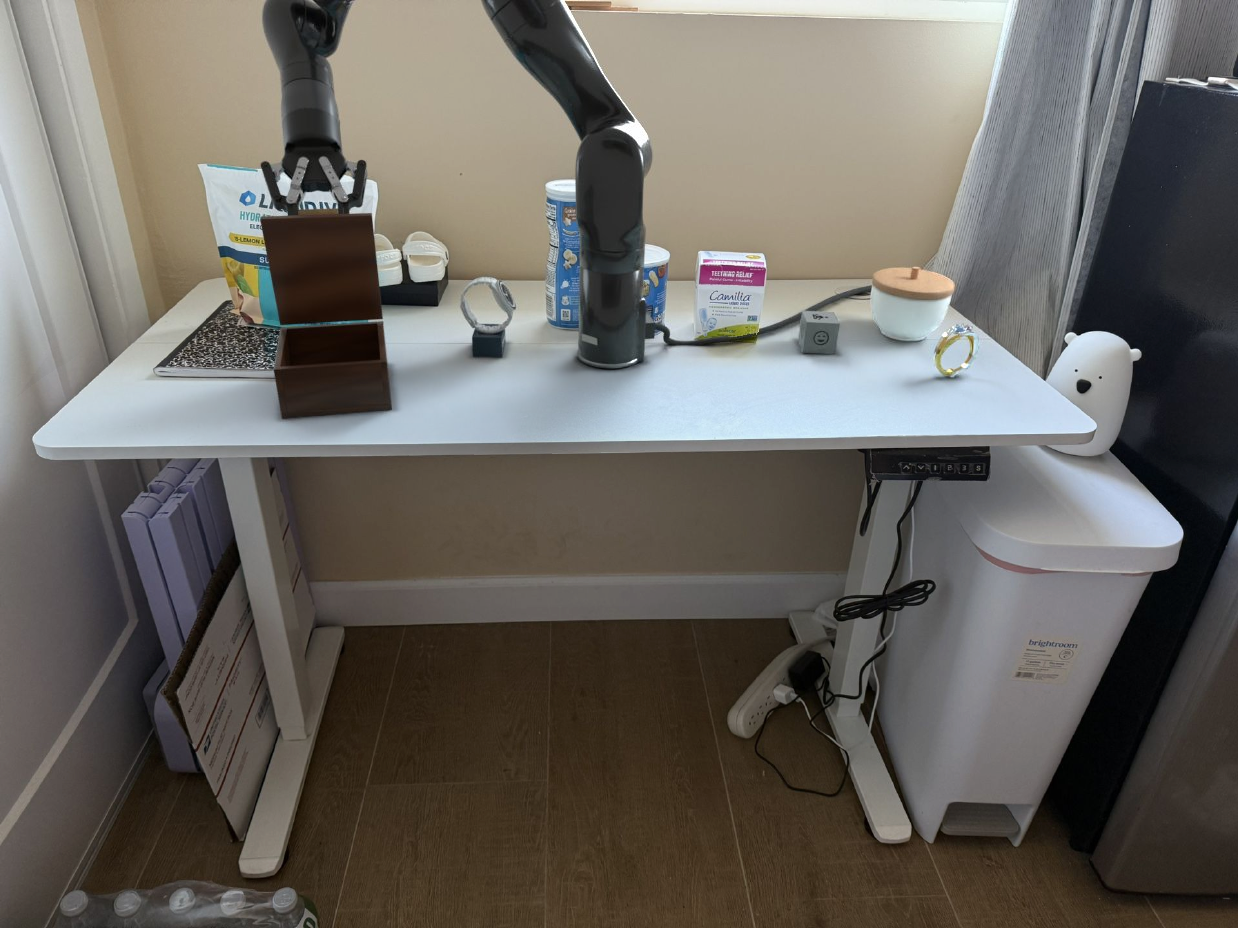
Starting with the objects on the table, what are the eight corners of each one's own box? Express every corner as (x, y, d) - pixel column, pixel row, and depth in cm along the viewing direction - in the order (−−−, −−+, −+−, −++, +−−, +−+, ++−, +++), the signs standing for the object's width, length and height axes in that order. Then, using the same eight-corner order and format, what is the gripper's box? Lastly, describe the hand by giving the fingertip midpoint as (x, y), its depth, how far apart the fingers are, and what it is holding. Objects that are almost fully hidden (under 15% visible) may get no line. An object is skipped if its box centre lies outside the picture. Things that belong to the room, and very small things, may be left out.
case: (392, 409, 117) (386, 361, 113) (281, 418, 113) (273, 369, 110) (387, 365, 129) (383, 320, 126) (288, 372, 126) (280, 327, 122)
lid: (372, 215, 115) (370, 197, 119) (259, 219, 112) (262, 200, 116) (382, 319, 125) (380, 299, 129) (280, 325, 122) (281, 304, 126)
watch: (515, 357, 133) (513, 286, 127) (461, 356, 133) (456, 284, 127) (518, 343, 138) (516, 273, 132) (466, 342, 137) (462, 272, 132)
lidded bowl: (863, 342, 143) (875, 275, 137) (863, 316, 153) (874, 252, 148) (945, 352, 140) (961, 284, 135) (940, 324, 151) (954, 260, 146)
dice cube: (797, 340, 142) (802, 310, 140) (829, 342, 142) (834, 312, 140) (802, 352, 138) (806, 322, 136) (834, 354, 138) (839, 323, 136)
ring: (965, 370, 134) (977, 319, 130) (977, 379, 132) (990, 327, 128) (923, 373, 133) (935, 322, 129) (935, 382, 130) (947, 330, 126)
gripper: (250, 105, 117) (258, 219, 113) (363, 105, 121) (375, 215, 116) (260, 142, 124) (267, 250, 120) (366, 140, 128) (378, 245, 123)
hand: (320, 232), depth 118 cm, fingers closed on lid, 5 cm apart
